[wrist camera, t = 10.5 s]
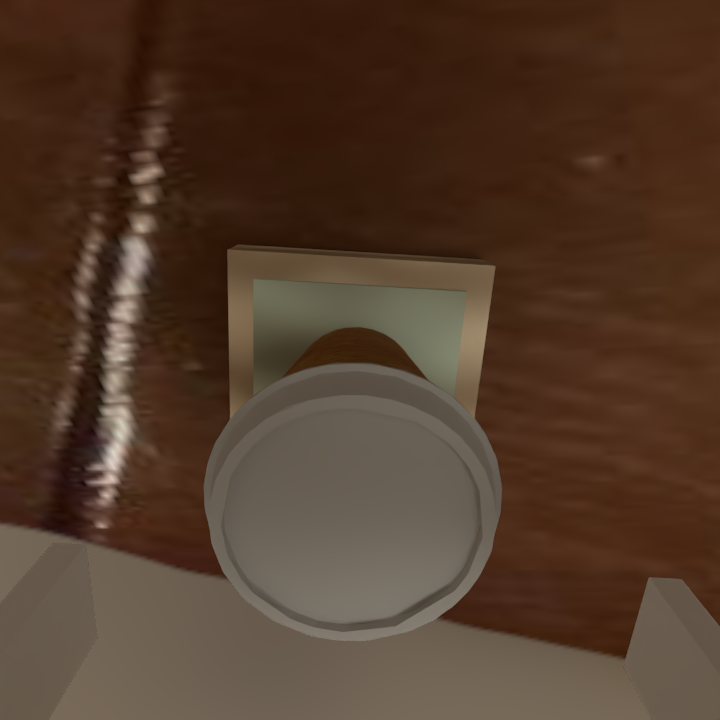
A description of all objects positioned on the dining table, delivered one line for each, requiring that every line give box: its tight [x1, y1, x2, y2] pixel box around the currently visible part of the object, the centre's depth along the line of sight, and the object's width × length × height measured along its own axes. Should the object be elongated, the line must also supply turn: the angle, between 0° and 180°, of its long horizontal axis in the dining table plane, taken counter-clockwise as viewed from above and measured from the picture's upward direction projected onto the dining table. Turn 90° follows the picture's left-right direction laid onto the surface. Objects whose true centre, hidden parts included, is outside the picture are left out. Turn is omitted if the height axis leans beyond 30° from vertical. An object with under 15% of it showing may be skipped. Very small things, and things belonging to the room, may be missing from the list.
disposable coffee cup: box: [204, 327, 502, 641], centre depth 21 cm, size 10×10×12 cm
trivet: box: [227, 245, 495, 418], centre depth 28 cm, size 13×13×3 cm
